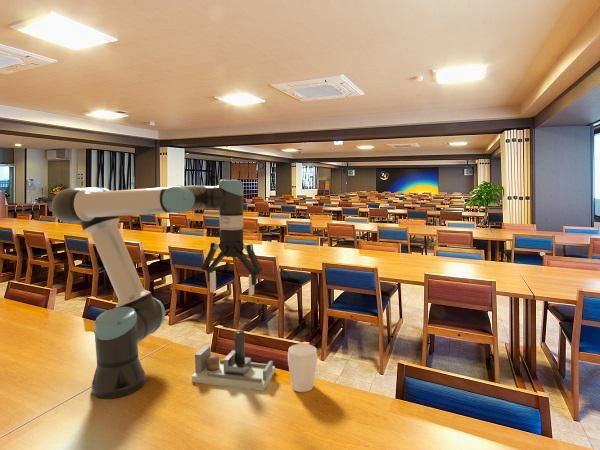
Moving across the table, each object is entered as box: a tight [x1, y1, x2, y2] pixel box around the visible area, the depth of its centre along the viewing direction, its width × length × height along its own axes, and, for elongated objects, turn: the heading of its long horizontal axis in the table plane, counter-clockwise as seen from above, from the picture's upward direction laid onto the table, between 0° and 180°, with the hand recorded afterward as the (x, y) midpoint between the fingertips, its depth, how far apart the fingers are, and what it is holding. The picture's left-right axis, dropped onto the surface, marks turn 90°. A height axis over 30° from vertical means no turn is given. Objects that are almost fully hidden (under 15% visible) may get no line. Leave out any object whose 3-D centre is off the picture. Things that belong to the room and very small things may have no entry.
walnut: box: [207, 353, 220, 371], centre depth 125 cm, size 4×4×4 cm
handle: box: [223, 329, 252, 376], centre depth 122 cm, size 7×7×13 cm
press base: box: [191, 344, 276, 392], centre depth 123 cm, size 24×12×8 cm, turn 77°
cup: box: [287, 343, 318, 393], centre depth 117 cm, size 9×9×12 cm
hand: (231, 293), depth 123 cm, fingers open, 13 cm apart
